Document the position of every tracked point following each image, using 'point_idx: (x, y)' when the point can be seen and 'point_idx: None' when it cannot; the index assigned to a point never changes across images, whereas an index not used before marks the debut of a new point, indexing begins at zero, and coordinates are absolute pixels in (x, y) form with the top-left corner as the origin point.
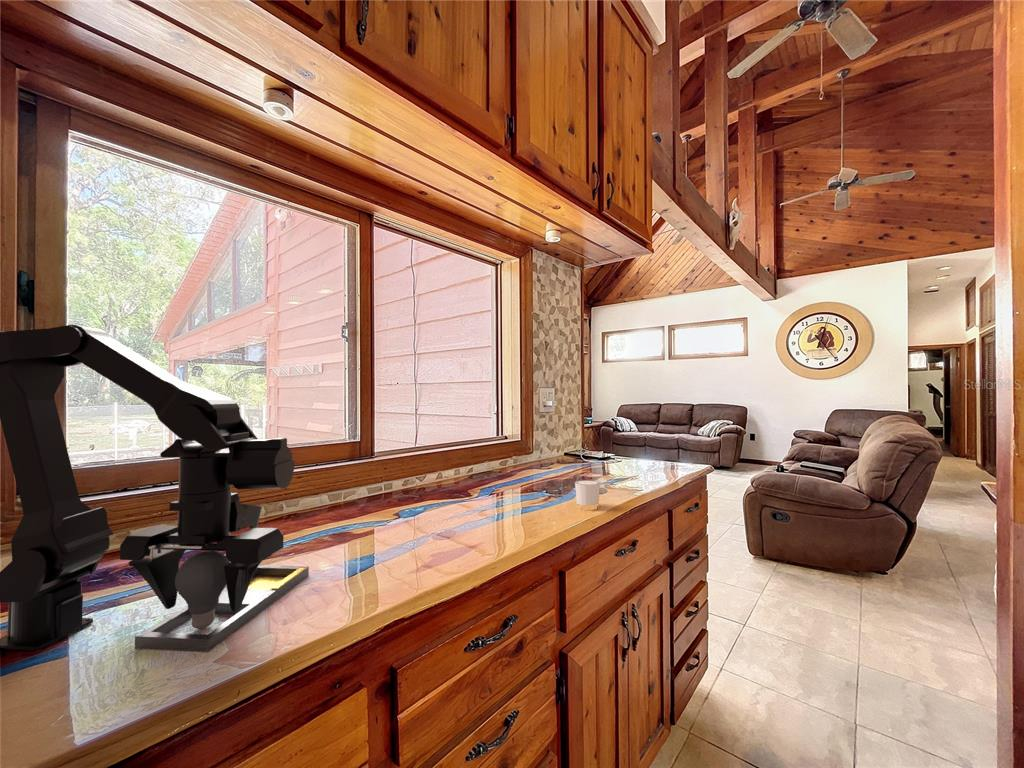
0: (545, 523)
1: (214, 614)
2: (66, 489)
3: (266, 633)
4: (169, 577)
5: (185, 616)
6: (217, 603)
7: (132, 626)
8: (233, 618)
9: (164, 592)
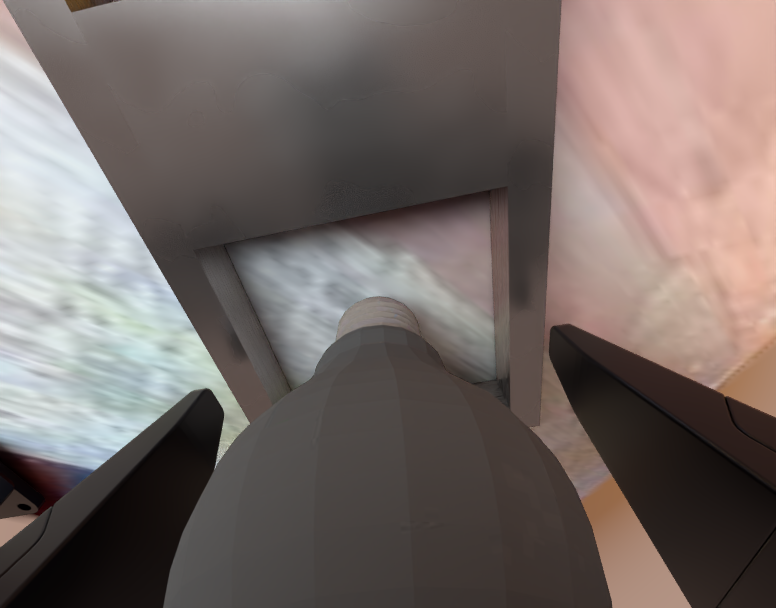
0: None
1: (401, 311)
2: None
3: (660, 271)
4: (122, 579)
5: (242, 313)
6: (439, 357)
7: (92, 370)
8: (527, 318)
9: (191, 512)
